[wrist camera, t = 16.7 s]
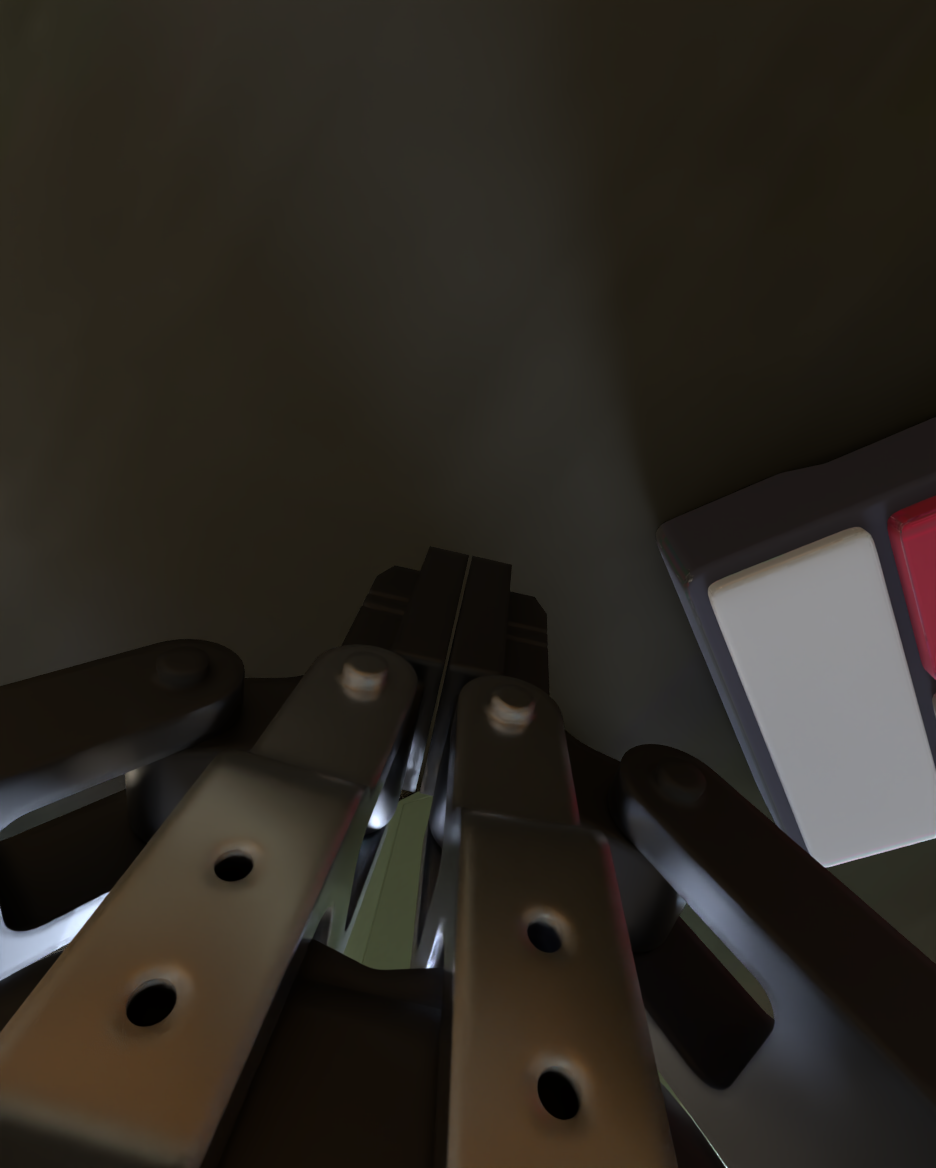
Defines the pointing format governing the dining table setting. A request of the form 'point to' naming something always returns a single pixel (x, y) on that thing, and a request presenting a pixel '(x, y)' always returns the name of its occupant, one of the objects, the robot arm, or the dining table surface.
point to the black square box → (826, 639)
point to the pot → (392, 891)
